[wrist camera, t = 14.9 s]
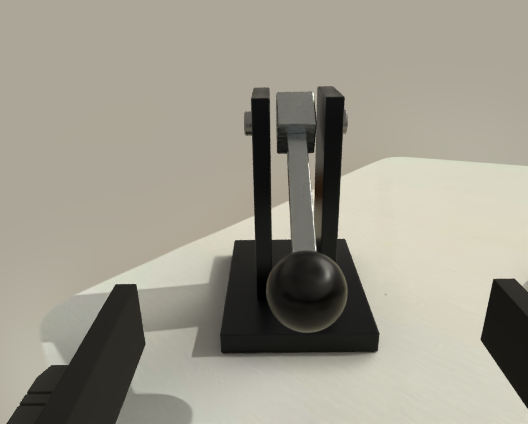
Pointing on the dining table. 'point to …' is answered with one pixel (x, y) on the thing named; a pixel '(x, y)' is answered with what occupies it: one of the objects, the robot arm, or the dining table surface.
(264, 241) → the bracket
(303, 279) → the control lever
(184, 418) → the dining table surface
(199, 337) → the dining table surface
